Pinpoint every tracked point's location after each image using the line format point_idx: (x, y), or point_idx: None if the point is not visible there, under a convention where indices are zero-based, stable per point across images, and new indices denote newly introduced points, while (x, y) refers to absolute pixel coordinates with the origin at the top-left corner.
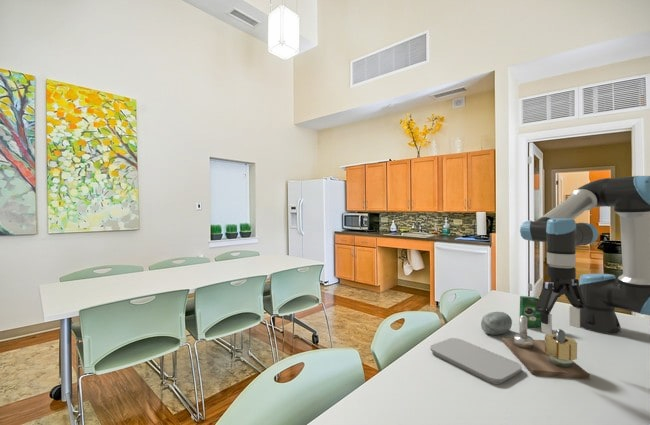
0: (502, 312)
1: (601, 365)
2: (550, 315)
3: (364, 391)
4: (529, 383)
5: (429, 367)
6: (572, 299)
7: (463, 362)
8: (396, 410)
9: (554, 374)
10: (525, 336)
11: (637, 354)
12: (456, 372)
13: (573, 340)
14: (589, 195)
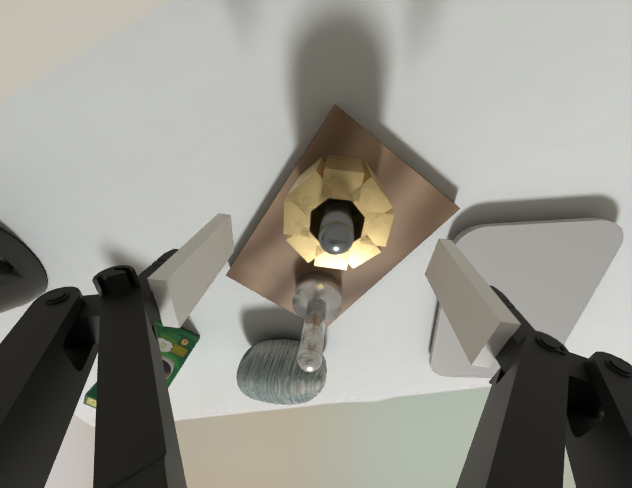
0: (249, 393)
1: (206, 135)
2: (514, 318)
3: None
4: (519, 181)
5: (618, 332)
6: (158, 374)
7: (570, 309)
8: None
9: (413, 169)
10: (320, 304)
11: (18, 117)
12: (599, 295)
13: (300, 192)
14: None
